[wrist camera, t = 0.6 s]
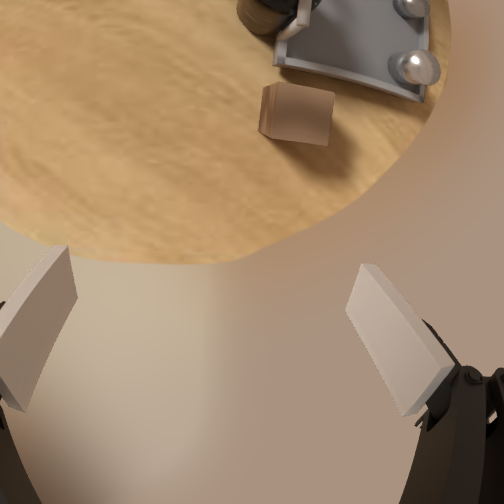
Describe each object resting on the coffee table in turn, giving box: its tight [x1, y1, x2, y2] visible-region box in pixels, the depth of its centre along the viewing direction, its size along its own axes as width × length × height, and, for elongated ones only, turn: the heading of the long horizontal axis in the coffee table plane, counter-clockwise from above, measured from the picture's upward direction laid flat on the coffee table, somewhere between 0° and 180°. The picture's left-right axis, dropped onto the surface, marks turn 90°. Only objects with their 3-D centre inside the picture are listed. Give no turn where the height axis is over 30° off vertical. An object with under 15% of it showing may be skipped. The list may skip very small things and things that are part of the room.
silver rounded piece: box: [388, 49, 441, 85], centre depth 23 cm, size 4×4×5 cm
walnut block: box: [258, 82, 335, 146], centre depth 26 cm, size 5×5×8 cm
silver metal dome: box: [393, 0, 430, 20], centre depth 20 cm, size 4×4×3 cm
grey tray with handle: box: [273, 0, 429, 103], centre depth 20 cm, size 16×18×10 cm
